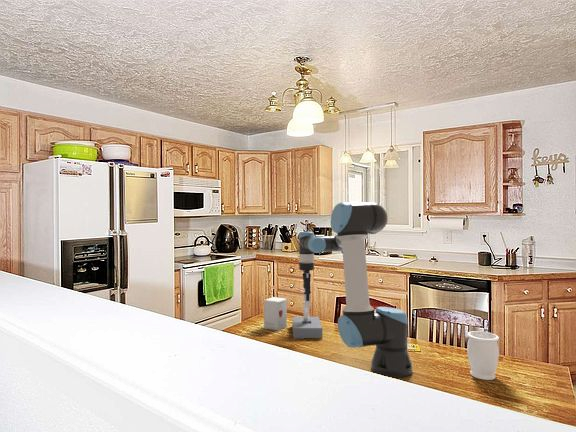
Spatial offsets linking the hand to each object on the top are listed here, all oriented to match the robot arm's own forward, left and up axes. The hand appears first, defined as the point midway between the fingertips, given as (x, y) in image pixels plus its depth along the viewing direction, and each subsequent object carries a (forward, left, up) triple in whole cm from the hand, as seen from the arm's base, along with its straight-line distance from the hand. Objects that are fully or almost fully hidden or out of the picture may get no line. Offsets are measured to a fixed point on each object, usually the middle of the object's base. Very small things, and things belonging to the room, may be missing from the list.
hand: (306, 304), depth 189 cm
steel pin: (0, 0, -14) cm, 14 cm away
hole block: (0, 0, -14) cm, 14 cm away
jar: (-52, -62, -14) cm, 82 cm away
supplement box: (+8, +16, -14) cm, 23 cm away
